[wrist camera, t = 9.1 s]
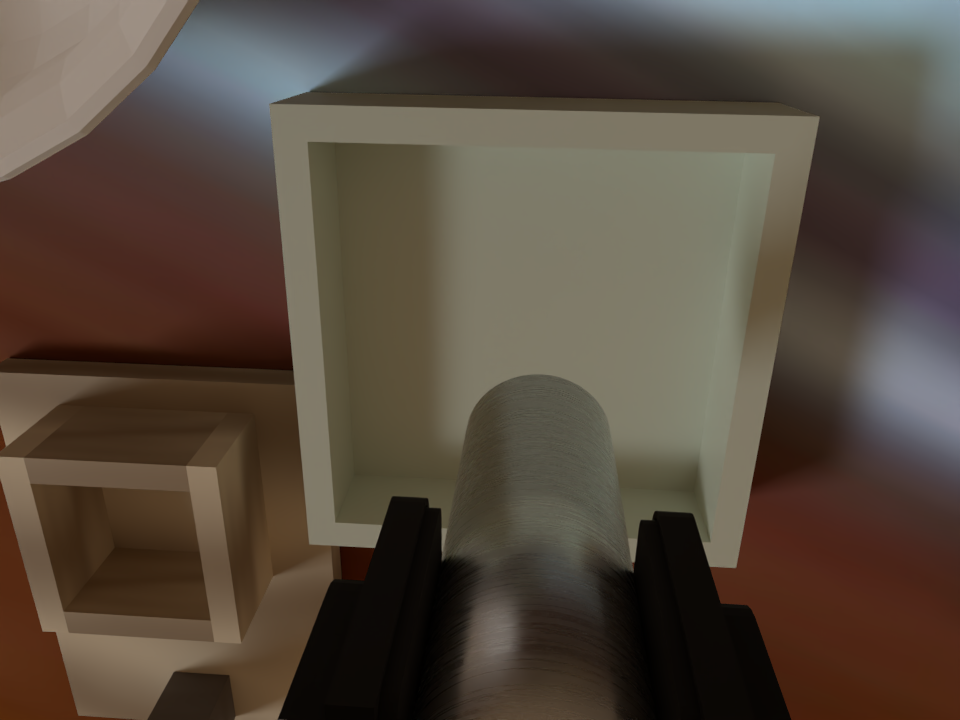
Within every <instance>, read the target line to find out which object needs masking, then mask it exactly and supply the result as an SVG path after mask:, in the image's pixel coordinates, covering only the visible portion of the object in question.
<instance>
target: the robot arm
mask: <svg viewBox="0 0 960 720" xmlns="http://www.w3.org/2000/svg"><path fill="white" fill-rule="evenodd" d="M441 563H442V515H441V508H430V507H429V501H428V498H420V497H403V496H393V497H392V498H391V500H390V503H389V506H388V509H387V512H386V515H385V519H384V522H383V525H382V528H381V531H380V534H379V537H378V540H377V543H376V546H375V550H374V553H373V556H372V559H371V562H370V565H369V568H368V571H367V574H366V577H365V581H358V580H343V579H334V580H333V581H332V582H331V583H330V585H329V587H328V589H327V592H326V594H325V597H324V600H323V602H322V605H321V607H320V610H319V613H318V615H317V618H316V621H315V623H314V626H313V628H312V631H311V634H310V636H309V639H308V641H307V644H306V647H305V649H304V652H303V654H302V657H301V660H300V662H299V665H298V667H297V670H296V673H295V675H294V678H293V681H292V683H291V686H290V688H289V691H288V694H287V696H286V699H285V701H284V704H283V707H282V709H281V712H280V714H279V717H278V720H412V715H413V710H414V705H415V699H416V694H417V689H418V684H419V678H420V673H421V668H422V663H423V657H424V652H425V647H426V642H427V636H428V631H429V626H430V621H431V615H432V610H433V605H434V600H435V594H436V589H437V584H438V579H439V574H440V568H441ZM633 574H634V580H635V587H636V593H637V599H638V605H639V611H640V617H641V624H642V630H643V636H644V642H645V648H646V655H647V661H648V667H649V673H650V679H651V686H652V692H653V698H654V704H655V710H656V717H657V720H791V718H790V715H789V712H788V709H787V706H786V704H785V701H784V698H783V695H782V692H781V689H780V687H779V684H778V681H777V678H776V675H775V673H774V670H773V667H772V664H771V661H770V658H769V656H768V653H767V650H766V647H765V644H764V641H763V639H762V636H761V633H760V630H759V627H758V624H757V622H756V619H755V616H754V614H753V612H752V610H751V608H749V607H748V606H747V605H734V604H721V603H720V600H719V597H718V593H717V590H716V587H715V583H714V580H713V577H712V573H711V570H710V567H709V564H708V560H707V557H706V554H705V550H704V547H703V544H702V540H701V537H700V534H699V530H698V527H697V524H696V521H695V518H694V515H693V514H692V513H685V512H668V511H655V512H654V514H653V518H652V520H641V521H640V524H639V530H638V538H637V547H636V555H635V564H634V572H633Z"/></svg>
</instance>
